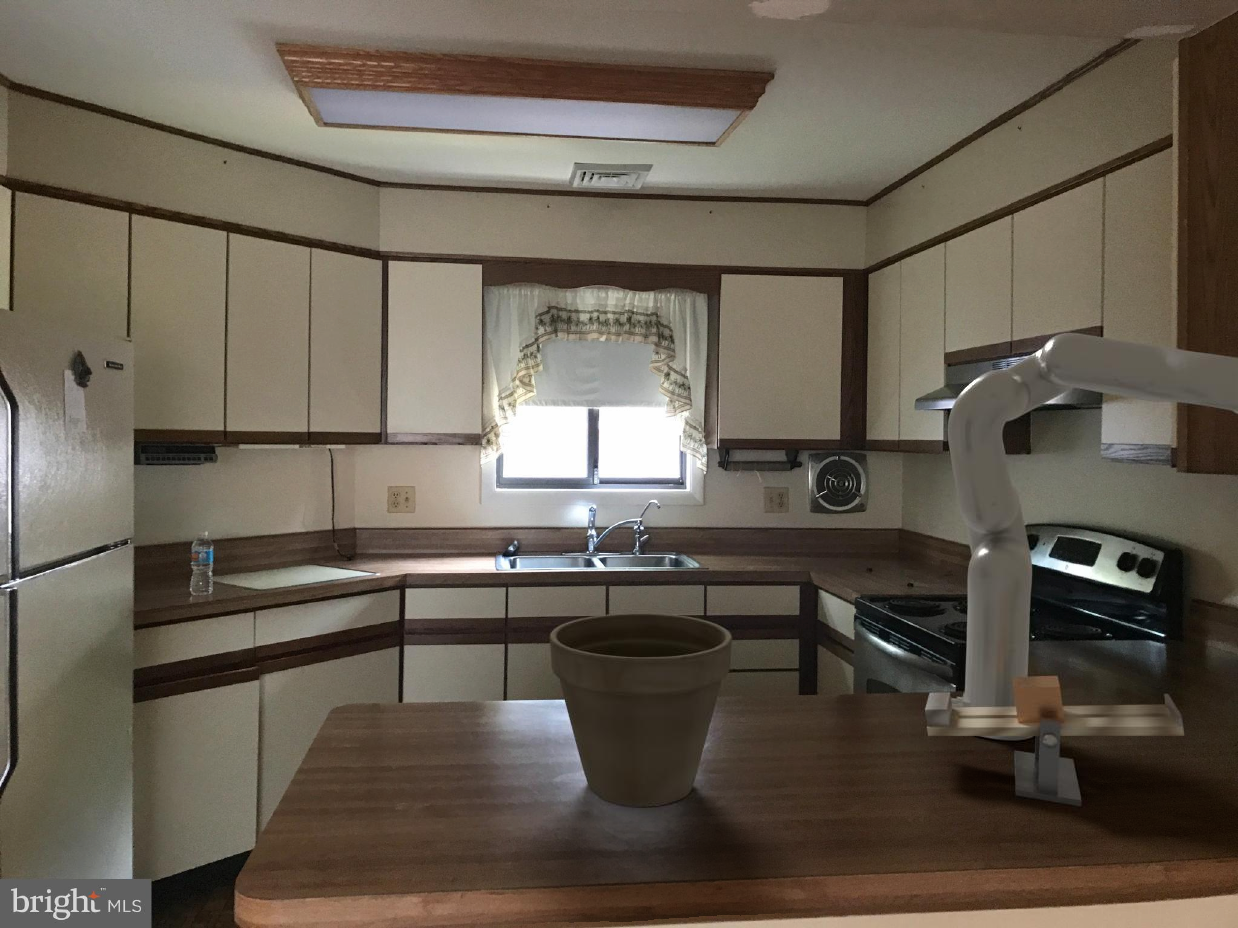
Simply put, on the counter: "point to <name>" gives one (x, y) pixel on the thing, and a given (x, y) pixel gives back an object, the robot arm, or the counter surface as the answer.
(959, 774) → the counter surface
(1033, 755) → the pivot stand
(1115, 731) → the beam
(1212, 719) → the counter surface
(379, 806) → the counter surface
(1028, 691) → the block
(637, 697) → the plant pot
